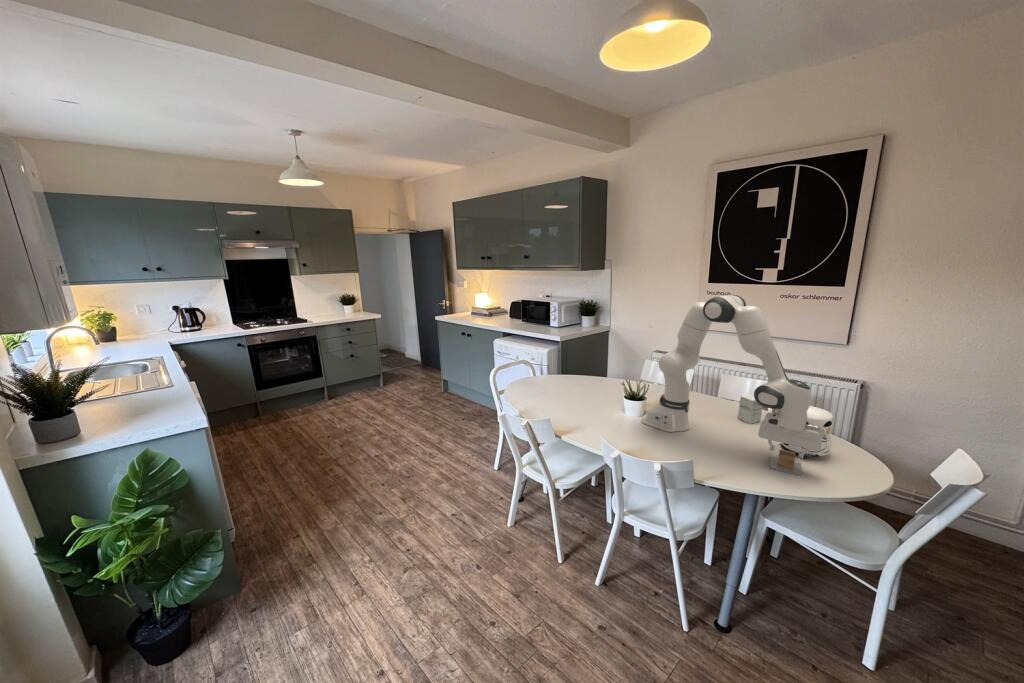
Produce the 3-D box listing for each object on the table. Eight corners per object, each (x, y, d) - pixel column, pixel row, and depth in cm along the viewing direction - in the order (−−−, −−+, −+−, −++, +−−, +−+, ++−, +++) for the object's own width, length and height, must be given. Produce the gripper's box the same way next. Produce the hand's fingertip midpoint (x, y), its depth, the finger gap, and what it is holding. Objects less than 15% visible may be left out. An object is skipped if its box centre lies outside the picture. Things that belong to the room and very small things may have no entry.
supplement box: (737, 418, 198) (740, 395, 195) (748, 416, 200) (751, 393, 197) (749, 424, 191) (752, 400, 188) (761, 422, 193) (764, 398, 190)
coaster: (769, 468, 152) (770, 466, 152) (771, 457, 160) (771, 455, 160) (801, 476, 146) (801, 474, 146) (800, 464, 154) (801, 463, 154)
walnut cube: (778, 460, 156) (779, 449, 155) (793, 463, 154) (795, 452, 152) (777, 465, 152) (779, 454, 151) (793, 469, 150) (795, 458, 148)
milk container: (808, 463, 155) (815, 422, 151) (769, 444, 171) (775, 406, 167) (839, 456, 160) (847, 416, 156) (798, 438, 176) (804, 401, 172)
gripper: (825, 425, 146) (818, 457, 149) (761, 412, 157) (757, 442, 161) (826, 431, 141) (819, 465, 144) (760, 417, 152) (755, 449, 156)
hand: (786, 453), depth 152 cm, fingers open, 8 cm apart
